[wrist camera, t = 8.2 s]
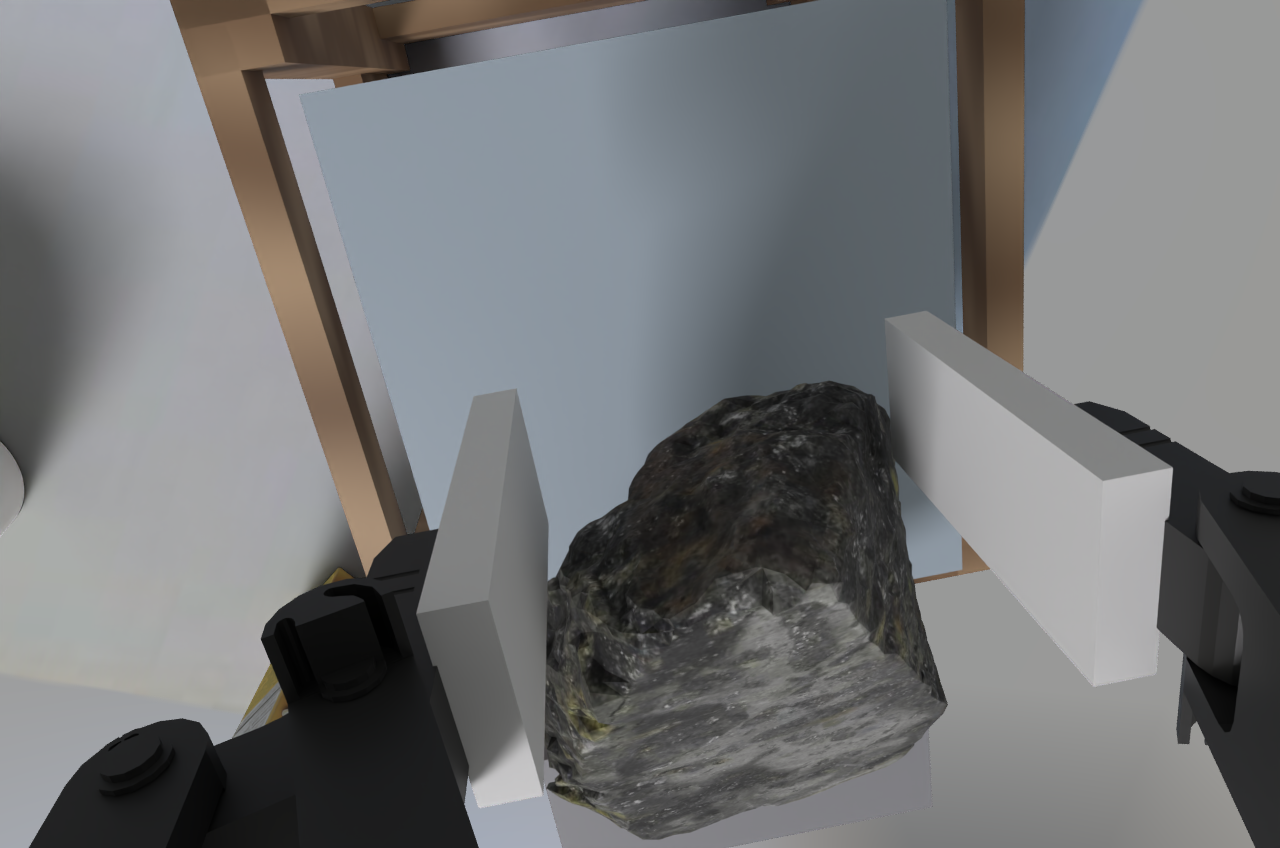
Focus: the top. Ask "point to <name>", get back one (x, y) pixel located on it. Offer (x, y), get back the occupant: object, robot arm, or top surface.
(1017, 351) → the crate
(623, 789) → the rock
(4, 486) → the cup
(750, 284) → the trapdoor
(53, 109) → the top surface
